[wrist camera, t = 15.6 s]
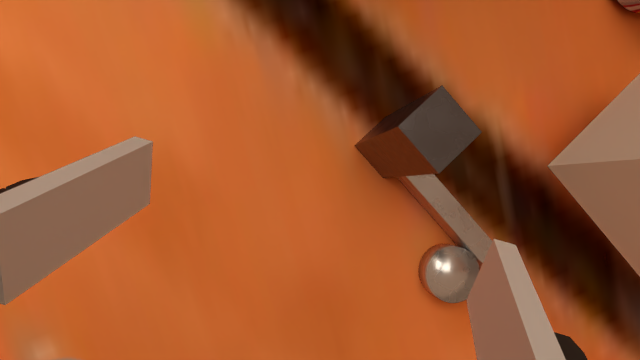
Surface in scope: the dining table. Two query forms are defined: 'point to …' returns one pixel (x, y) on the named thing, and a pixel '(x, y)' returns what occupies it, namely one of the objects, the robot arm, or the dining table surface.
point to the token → (448, 272)
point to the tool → (428, 160)
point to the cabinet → (609, 172)
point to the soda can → (631, 5)
